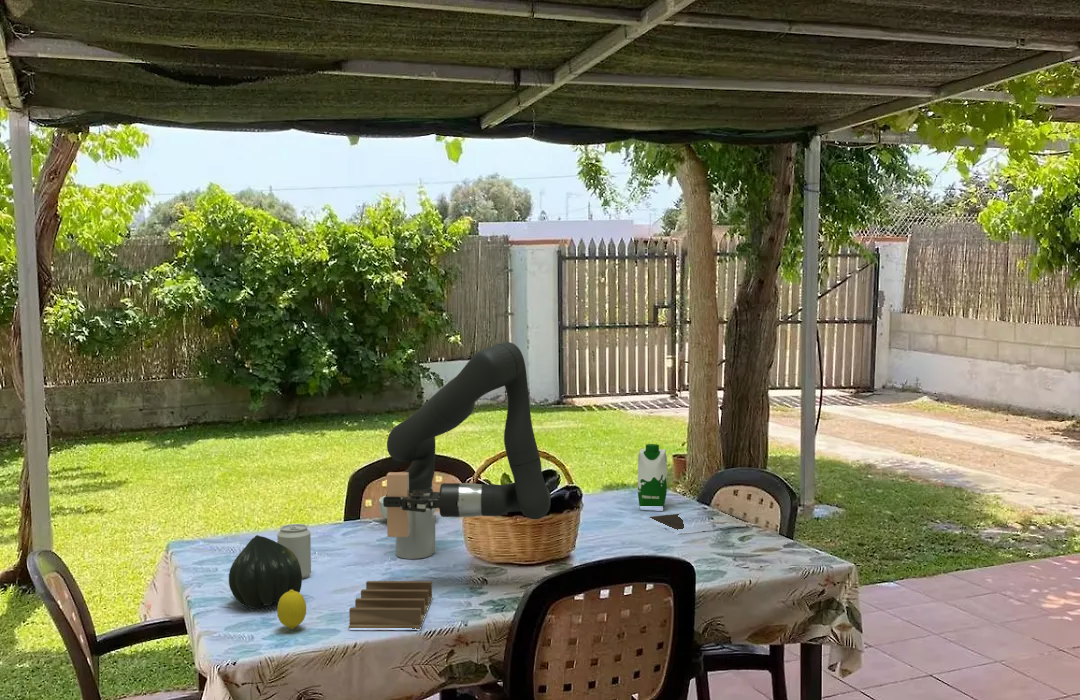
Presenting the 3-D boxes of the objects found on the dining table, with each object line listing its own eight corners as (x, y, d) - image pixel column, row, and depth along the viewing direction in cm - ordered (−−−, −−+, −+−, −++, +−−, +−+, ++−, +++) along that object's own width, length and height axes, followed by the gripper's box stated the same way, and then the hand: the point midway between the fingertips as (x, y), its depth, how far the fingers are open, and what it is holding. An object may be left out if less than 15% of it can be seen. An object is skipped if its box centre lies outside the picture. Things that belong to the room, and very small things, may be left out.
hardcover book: (748, 529, 272) (748, 521, 272) (677, 537, 263) (677, 529, 263) (717, 516, 287) (717, 509, 286) (649, 524, 278) (649, 516, 278)
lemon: (280, 625, 192) (279, 585, 192) (308, 624, 193) (308, 585, 192) (275, 634, 187) (274, 594, 186) (304, 634, 187) (303, 593, 187)
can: (281, 583, 219) (281, 531, 219) (274, 574, 226) (274, 524, 225) (314, 578, 223) (313, 527, 222) (306, 570, 230) (305, 521, 229)
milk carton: (636, 511, 291) (637, 445, 290) (639, 504, 300) (639, 441, 299) (665, 512, 289) (666, 446, 288) (667, 506, 298) (668, 442, 297)
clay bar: (389, 533, 218) (388, 472, 217) (409, 533, 218) (408, 472, 217) (387, 536, 215) (386, 474, 214) (407, 536, 215) (406, 474, 214)
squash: (303, 588, 198) (298, 523, 207) (227, 597, 194) (225, 531, 203) (303, 616, 209) (298, 553, 218) (231, 625, 205) (229, 561, 214)
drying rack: (368, 598, 209) (367, 580, 209) (432, 598, 209) (432, 580, 209) (348, 630, 189) (348, 610, 189) (419, 631, 189) (419, 611, 189)
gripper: (464, 477, 223) (389, 477, 223) (458, 490, 209) (379, 490, 209) (464, 509, 223) (390, 509, 223) (458, 524, 209) (379, 524, 209)
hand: (385, 500), depth 216 cm, fingers closed on clay bar, 3 cm apart
